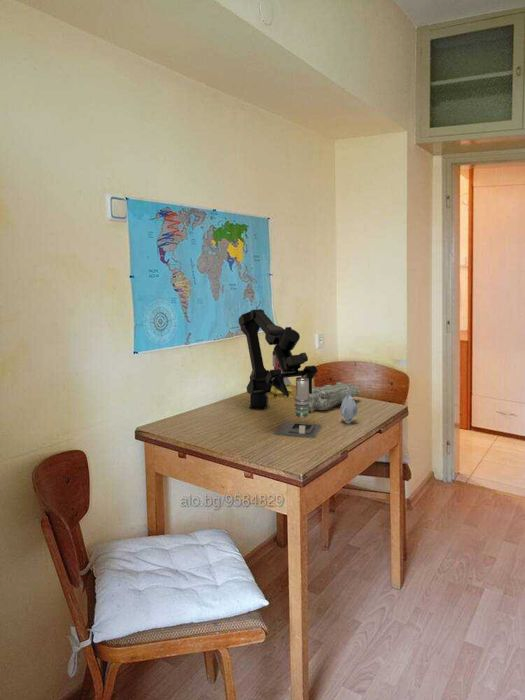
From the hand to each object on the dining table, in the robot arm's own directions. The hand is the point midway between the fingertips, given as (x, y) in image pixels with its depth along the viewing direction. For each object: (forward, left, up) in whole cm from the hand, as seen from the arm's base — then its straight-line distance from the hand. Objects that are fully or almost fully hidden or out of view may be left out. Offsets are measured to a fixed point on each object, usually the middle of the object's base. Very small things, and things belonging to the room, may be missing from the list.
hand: (299, 394), depth 185 cm
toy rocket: (-20, +45, -13) cm, 51 cm away
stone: (+6, +35, -13) cm, 38 cm away
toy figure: (+15, +15, -13) cm, 25 cm away
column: (+1, -1, -7) cm, 7 cm away
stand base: (0, 0, -13) cm, 13 cm away
